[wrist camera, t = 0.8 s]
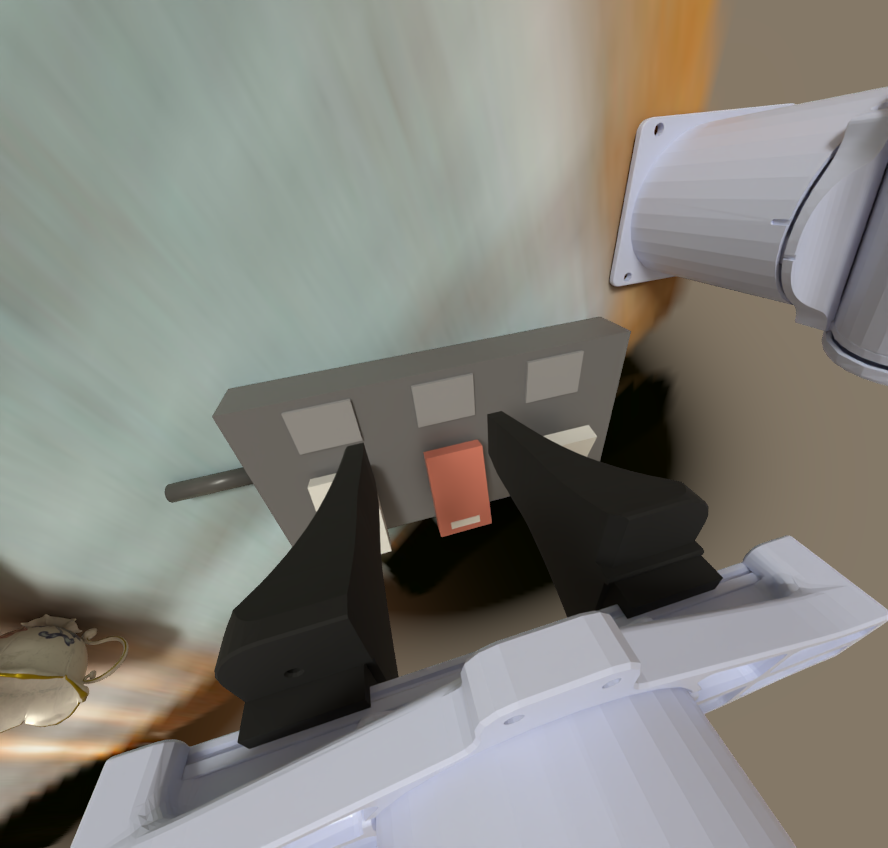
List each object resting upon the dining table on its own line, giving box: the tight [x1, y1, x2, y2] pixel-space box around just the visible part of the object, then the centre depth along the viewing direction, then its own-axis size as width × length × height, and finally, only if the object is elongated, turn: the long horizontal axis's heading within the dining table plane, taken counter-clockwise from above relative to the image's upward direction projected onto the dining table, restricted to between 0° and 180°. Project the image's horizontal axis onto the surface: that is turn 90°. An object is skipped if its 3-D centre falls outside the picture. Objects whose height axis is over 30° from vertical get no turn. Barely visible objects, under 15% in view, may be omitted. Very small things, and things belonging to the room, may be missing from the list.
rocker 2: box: [544, 425, 597, 457], centre depth 23 cm, size 4×6×2 cm, turn 6°
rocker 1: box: [308, 473, 391, 554], centre depth 21 cm, size 4×6×2 cm, turn 6°
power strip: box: [165, 317, 631, 547], centre depth 23 cm, size 30×12×3 cm, turn 96°
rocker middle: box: [423, 440, 492, 537], centre depth 22 cm, size 4×6×2 cm, turn 5°
